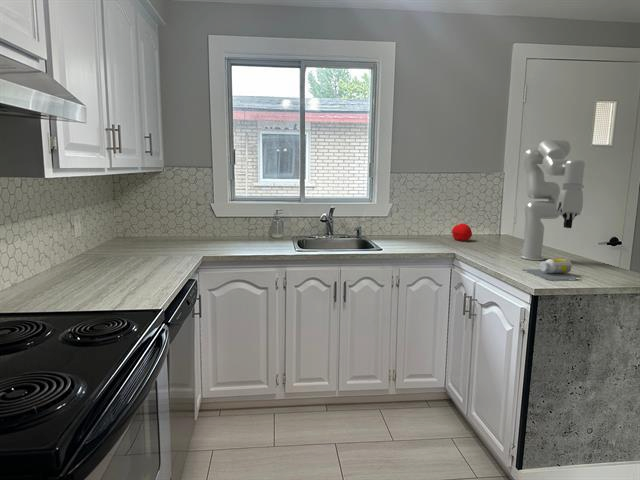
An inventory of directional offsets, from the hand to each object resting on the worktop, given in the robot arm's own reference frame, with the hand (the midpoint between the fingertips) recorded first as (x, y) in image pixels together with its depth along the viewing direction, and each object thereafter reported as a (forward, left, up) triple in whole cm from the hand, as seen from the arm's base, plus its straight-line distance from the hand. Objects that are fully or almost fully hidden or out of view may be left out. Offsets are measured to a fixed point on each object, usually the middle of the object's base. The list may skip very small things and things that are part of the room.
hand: (567, 227), depth 202 cm
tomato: (-97, -3, -23) cm, 99 cm away
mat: (0, -6, -22) cm, 23 cm away
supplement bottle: (-2, +4, -19) cm, 19 cm away
